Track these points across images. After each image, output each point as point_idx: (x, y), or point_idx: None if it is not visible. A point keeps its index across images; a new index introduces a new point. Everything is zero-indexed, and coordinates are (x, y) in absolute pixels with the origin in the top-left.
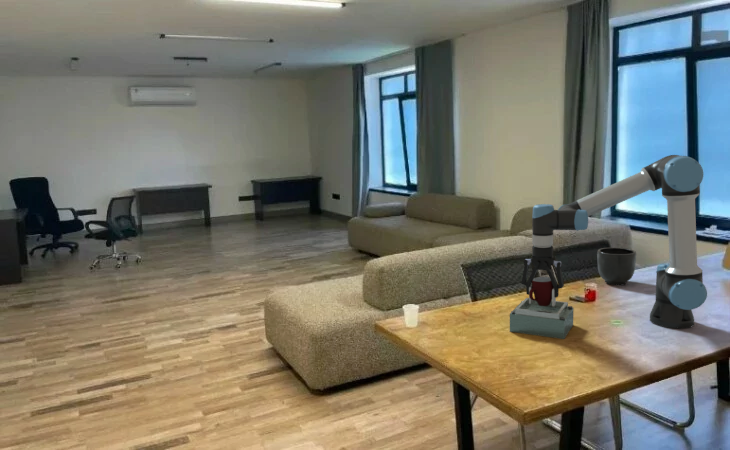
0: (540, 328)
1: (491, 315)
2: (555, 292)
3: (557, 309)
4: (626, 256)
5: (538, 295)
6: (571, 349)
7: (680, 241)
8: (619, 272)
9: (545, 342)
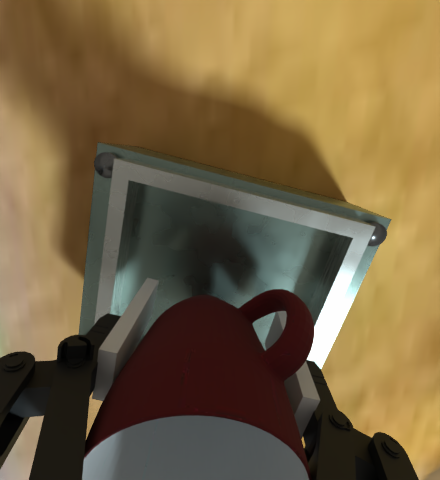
0: (226, 172)
1: (394, 363)
2: (102, 339)
3: None
4: None
5: (236, 322)
6: (100, 16)
7: None
8: None
9: (208, 89)
